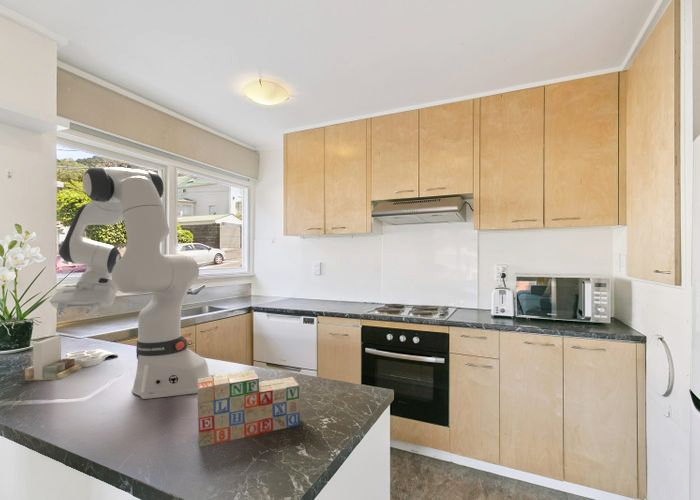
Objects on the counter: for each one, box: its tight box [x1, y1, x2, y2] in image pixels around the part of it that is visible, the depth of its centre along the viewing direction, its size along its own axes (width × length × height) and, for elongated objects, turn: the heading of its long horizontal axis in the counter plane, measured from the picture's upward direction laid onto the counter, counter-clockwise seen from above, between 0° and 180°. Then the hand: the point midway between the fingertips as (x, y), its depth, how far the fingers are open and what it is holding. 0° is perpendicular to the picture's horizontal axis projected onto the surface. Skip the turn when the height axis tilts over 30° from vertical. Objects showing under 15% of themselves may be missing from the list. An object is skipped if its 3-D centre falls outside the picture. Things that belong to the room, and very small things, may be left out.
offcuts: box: [43, 358, 75, 380], centre depth 113 cm, size 8×4×4 cm, turn 5°
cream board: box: [32, 336, 62, 379], centre depth 112 cm, size 8×2×11 cm, turn 5°
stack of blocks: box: [197, 369, 301, 447], centre depth 79 cm, size 21×6×12 cm, turn 113°
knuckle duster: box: [65, 348, 119, 368], centre depth 127 cm, size 3×18×15 cm
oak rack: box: [24, 364, 83, 382], centre depth 113 cm, size 10×10×4 cm
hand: (73, 315), depth 125 cm, fingers open, 8 cm apart
